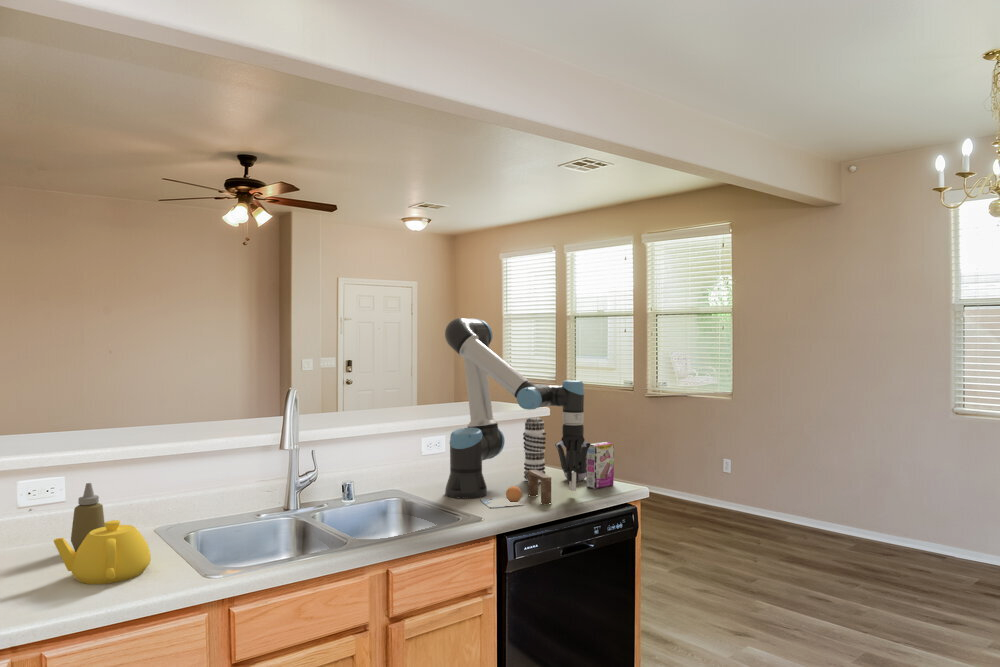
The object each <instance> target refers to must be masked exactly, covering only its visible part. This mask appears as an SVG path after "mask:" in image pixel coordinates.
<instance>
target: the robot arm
mask: <svg viewBox="0 0 1000 667" xmlns="http://www.w3.org/2000/svg"><path fill="white" fill-rule="evenodd" d="M444 338H445V341H446V343H447V344H448V346H449V347H450V348H451V349H452V350H453V351H454V352H456V353H457V354H458V355H459V356H460V357H461V358H462V359H463V364H464V372H465V381H466V390H467V398H468V406H469V417H470V422H469V423H468V424H467V427H461V428H458V429H454V430H453V431H452V432H451V433H450V436H449V437H450V438H449V458H450V460H449V470H450V471H449V472H450V473H449V475H448V479H447V482H446V485H445V496H447V497H448V498H449V497H450V498H455V499H475V498H482V497H485V496H487V494H488V487H487V483H486V481H485V477H484V474H483V461H486V460H489V459H490V460H491V459H493V458H495V457H496V456H498V455H500V454H501V453H502V451H503V449H504V447H505V437H504V436H505V435H504V433H503V431H501V429H500V428H499V423H498V421H497V420H495V419H494V416H493V415H494V414H493V407H492V406H493V405H492V398H491V390H490V380H489V377H490V378H491V379H493V380H494V381H495V382H496V383H497V384H499V385H500V386H501V387H502V388H503V389H505V390H506V391H507V392H508V393H509V394H511V395H512V397H514V398H515V399H516V402H517V403H518V406H519V407H520V408H522V409H523V410H528V411H529V410H530V411H531V410H536V409H539V408H543V407H562V423H563V424H562V437H561V440H560V441H559V442H557V443H555V444H554V445H555V447H556V450H557V452H558V457H559V462H560V467H561V469H562V471H563V470H565V471H567V478H566V479H567V480H566V481H567V482H568V484H569V485H568V490H570V491H571V492H576V491H577V482H579V481H578V472H580V470H583V469H584V464H585V460H586V458H587V451H588V448H589V447H590V444H591V443H590V442H587V441H586V439H585V437H584V433H585V432H584V428H585V427H584V426H585V425H584V423H585V421H584V418H585V415H584V413H585V410H584V408H585V407H584V405H585V389H584V387H585V386H584V382H583V381H582V380H577V379H576V380H575V379H574V380H573V379H569V380H568V379H567V380H563V382H562V385H553V384H551V385H550V384H544V383H543V384H542V383H541V384H533V383H532V382H531V381H529V379H528V378H526V377H525V376H524V375H522V373H520V372H519V371H517V370H516V369H515V368H513V366H511V365H510V364H509V363H508V362H506V360H504V359H503V358H501V357H500V356H499V355H498V354H496V352H494V351H493V350H492V349H490V345H491V343H492V341H493V331H492V328H491V326H490V324H488V323H487V321H485V320H483V319H479V318H463V317H458V318H454V319H453V320H451V321H450V322H449V323H448V324H447V325H446V328H445V330H444ZM581 446H582V450H581V454H580V459H579V452H580V447H581ZM564 447H565V451H566V452H567V463H566V459H565V454H566V452H565V451H564ZM572 454H573V470H574V471H572Z"/></svg>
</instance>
